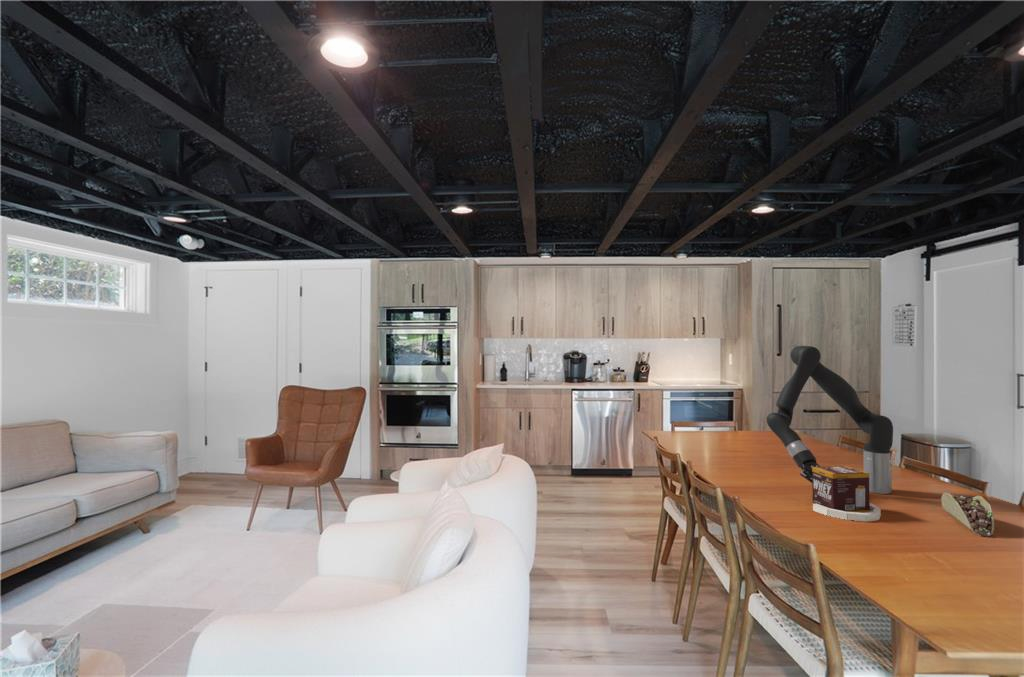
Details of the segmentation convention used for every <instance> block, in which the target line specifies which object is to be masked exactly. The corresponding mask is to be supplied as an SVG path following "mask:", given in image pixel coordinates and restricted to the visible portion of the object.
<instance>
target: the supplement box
mask: <svg viewBox="0 0 1024 677" xmlns="http://www.w3.org/2000/svg"><path fill="white" fill-rule="evenodd" d="M811 484H812V505H813V504H819V505H822V506H825V507H828V508H831V509H836V510H841V511H846V512H858V513H865V512H870V507H869V503H870V492H869V473H867V472H864V470H860V469H857V468H854V467H851V466H847V465H843V466H841V465H840V466H820V467H812V483H811Z"/></svg>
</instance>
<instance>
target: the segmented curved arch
mask: <svg viewBox="0 0 1024 677" xmlns="http://www.w3.org/2000/svg"><path fill="white" fill-rule="evenodd" d="M869 507H870V512H865V513H858V512H846V511H841V510H836V509H831V508H828V507H825V506H822V505H819V504H813V503H812V511H814V512H816V513H819V514H820V515H821V514H822V515H823V514H824V515H823V516H826V515H827V516H826V517H830V516H831V518H835V517H836V519H839V518H840V520H844V519H845V521H851V520H854V521H853V522H855V521H856V522H867V523H869V522H875V521H879V520H880V518H881V511H882V510H881V508H880V507H878V506H877V505H875V504H873V503H872V502H869Z"/></svg>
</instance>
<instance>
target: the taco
mask: <svg viewBox="0 0 1024 677" xmlns="http://www.w3.org/2000/svg"><path fill="white" fill-rule="evenodd" d="M940 497H941V498H940V500H941V507H942V508H943V510H944V511H946V512H947V513H948V514H950V515H951V516H953V517H954V518H955V519H956V520H958V521H959V522H960V523H961V524H963V525H964V526H966V527H967V529H969V530H971V531H972V532H973V533H975V535H977V536H981V537H989V536H992V535H993V533H994V531H995V517H994V513H993V509H992V507H991V504H990V503H989V502H988V501H987V500H986V499H985V498H984V497H983V496H981V495H976V496H963V495H960V496H958V495H954V494H950V493H949V492H943V493H942V495H941V496H940Z"/></svg>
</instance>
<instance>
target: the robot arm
mask: <svg viewBox="0 0 1024 677" xmlns="http://www.w3.org/2000/svg"><path fill="white" fill-rule="evenodd" d="M790 359H791V361H792V363H794V365H795V366H796V368H795V371H794V372H793V374H792V376H791V377H790V379H789V380H788V381H787V382H786V383H785V384H784V386H783V388H782V389H781V391H780V393H779V396H778V398H777V400H776V407H777V409H778V410H777V412H771V413H768V414H767V416H766V424H767V426H768V427H769V428H770V430H771V431H772V432H773V433H774V434H775V435H776V436H777V437H778V438H779V440H780V441H781V443H782V444H783V445H784V447H785V448H786V450H787V452H788V454H789V455H790V457H791V458H792V460H793V461H794V463H795V464H796V465H797V467H798V468H800V469H801V472H800V473H799V475H800V476H801V477H802V478H804V479H806V480H807V481H808V482H810V483H811V484H812V467H821V466H820V465H819V464H818V463H817V458H816V457H815V455H814V454H813V452H812V451H811V449H810V448H809V447H808V446H807V445H806V443H805V442H804V441H803V440H802V439H801V437H800V435H799V434H798V433H797V432H796V431H795V430H794V429H792V428H791V427H790V426H791V425H792V421H793V416H794V409H795V406H796V404H797V402H798V399H799V397H800V395H801V393H802V391H803V389H804V387H805V385H806V383H807V381H808V380H809V378H811V379H812V380H813V381H814V382H815V383H816V384H817V385H818V386H819V387H820V388H821V389H822V390H823V392H824V393H825V394H826V395H828V396H829V397H830V399H832V400H833V401H834V402H835V403H836V404H837V405H838V406H839V407H840V408H841V409H842V410H843V411H845V412H846V413H847V414H848V415H849V416H850V417H851V419H852V420H853V421H854V423H855V424H856V425H857V426H858V428H860V430H861V431H862V432H864V433H866V434H868V435H869V440H868V441H867V442H865V443H863V445H862V446H863V447H862V448H863V449H862V450H863V456H862V457H863V471H864V472H867V473H869V493H874V494H883V495H887V494H891V492H892V491H893V489H892V488H893V487H892V486H893V480H892V479H893V478H892V476H893V474H892V473H893V472H892V469H891V449H892V447H893V443H894V442H893V440H894V439H893V438H894V425H893V422H892V420H891V419H890V417H888V416H886V415H881V414H875V413H874V412H872V411H871V410H869V409H868V408H867V407H866V406H865V405H864V404H863V403H862V402H861V401H860V398H859V396H858V393H857V391H856V389H855V388H854V387H853V386H852V385H851V384H850V383H849V382H848V381H847V380H846V379H844V378H843V377H841V375H839V374H837V373H835V371H833V370H831V369H829V368H828V367H826V366H825V365H823V364H822V363H821V361H820V360H821V352H820V350H819V349H818V348H817V347H815V346H811V345H798V346H794V347H793V348H792V349H791V351H790Z"/></svg>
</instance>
